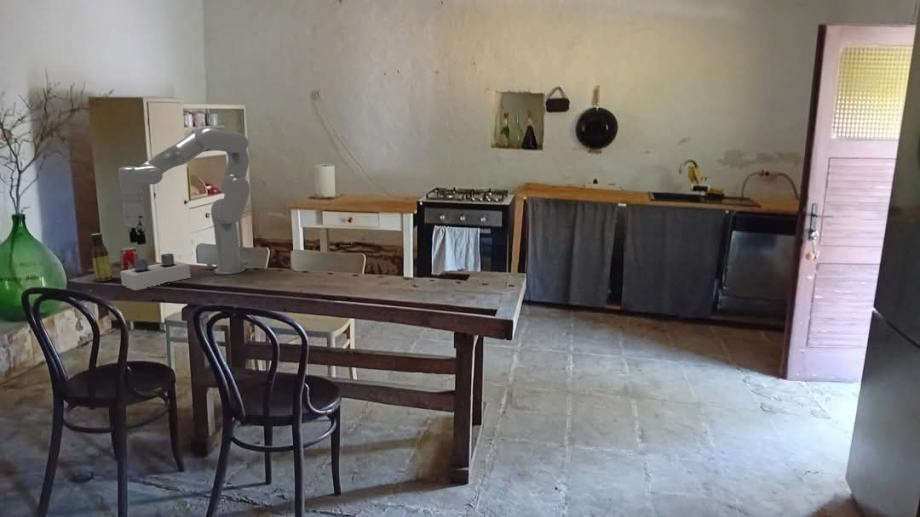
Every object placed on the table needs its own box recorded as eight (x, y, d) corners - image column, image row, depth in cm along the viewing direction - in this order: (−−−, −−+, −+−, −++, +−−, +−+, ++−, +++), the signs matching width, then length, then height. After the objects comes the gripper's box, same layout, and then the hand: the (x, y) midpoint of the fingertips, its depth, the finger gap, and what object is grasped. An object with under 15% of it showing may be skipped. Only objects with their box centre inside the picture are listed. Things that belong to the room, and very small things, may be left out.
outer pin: (145, 271, 272) (143, 257, 271) (150, 272, 269) (149, 259, 268) (133, 273, 269) (131, 260, 268) (138, 275, 266) (137, 261, 265)
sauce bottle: (115, 278, 281) (109, 232, 277) (106, 282, 275) (100, 235, 271) (101, 278, 282) (94, 232, 277) (92, 282, 276) (85, 235, 271)
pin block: (176, 274, 287) (175, 260, 285) (190, 278, 279) (189, 264, 278) (122, 285, 270) (120, 271, 268) (135, 290, 262) (133, 275, 261)
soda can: (135, 277, 282) (132, 249, 280) (119, 277, 283) (115, 250, 280) (143, 273, 289) (140, 246, 287) (127, 273, 290) (124, 246, 287)
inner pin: (171, 266, 281) (169, 253, 279) (177, 267, 278) (175, 254, 276) (160, 268, 277) (158, 255, 276) (165, 269, 274) (164, 256, 273)
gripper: (113, 197, 265) (119, 242, 269) (132, 201, 254) (138, 247, 258) (132, 195, 270) (138, 239, 275) (151, 198, 260) (157, 244, 264)
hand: (138, 242), depth 266 cm, fingers open, 5 cm apart
